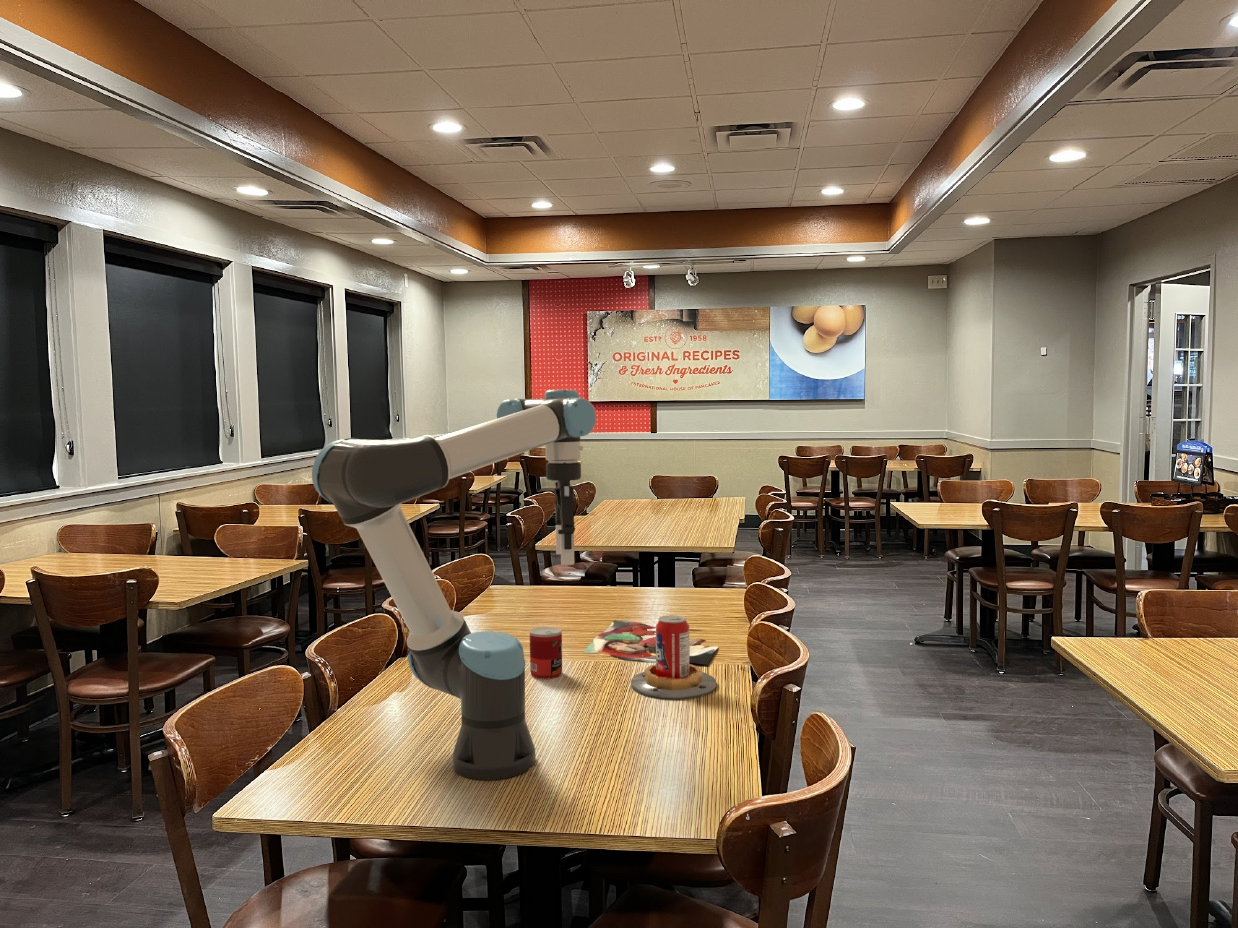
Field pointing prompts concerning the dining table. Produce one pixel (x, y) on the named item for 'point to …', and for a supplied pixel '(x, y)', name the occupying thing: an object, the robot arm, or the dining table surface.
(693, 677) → the bolted flange plate
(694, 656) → the colorful printed placemat
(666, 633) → the soda can
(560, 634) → the canned food
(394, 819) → the dining table surface
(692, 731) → the dining table surface
